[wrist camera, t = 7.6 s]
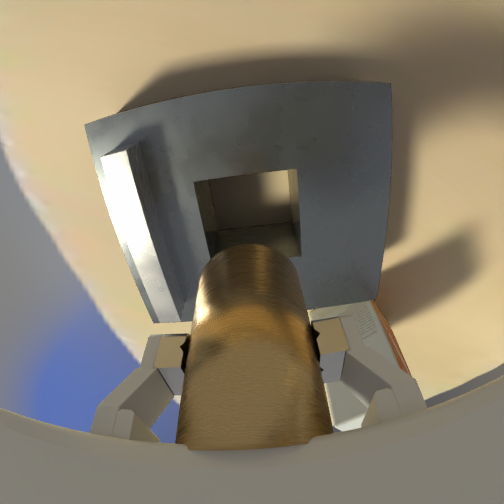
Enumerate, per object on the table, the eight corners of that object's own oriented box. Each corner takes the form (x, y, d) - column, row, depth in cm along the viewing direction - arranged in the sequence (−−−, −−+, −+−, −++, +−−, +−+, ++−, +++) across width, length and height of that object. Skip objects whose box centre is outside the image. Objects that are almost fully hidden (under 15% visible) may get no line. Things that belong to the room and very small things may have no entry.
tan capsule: (297, 237, 12) (349, 429, 5) (300, 316, 14) (329, 475, 7) (189, 251, 12) (147, 440, 5) (211, 325, 14) (199, 483, 8)
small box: (388, 321, 31) (428, 418, 20) (341, 347, 33) (367, 446, 22) (361, 278, 27) (411, 393, 16) (307, 311, 29) (331, 429, 18)
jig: (360, 81, 18) (407, 85, 12) (358, 263, 26) (384, 317, 20) (116, 113, 19) (67, 131, 13) (165, 285, 27) (148, 341, 21)
